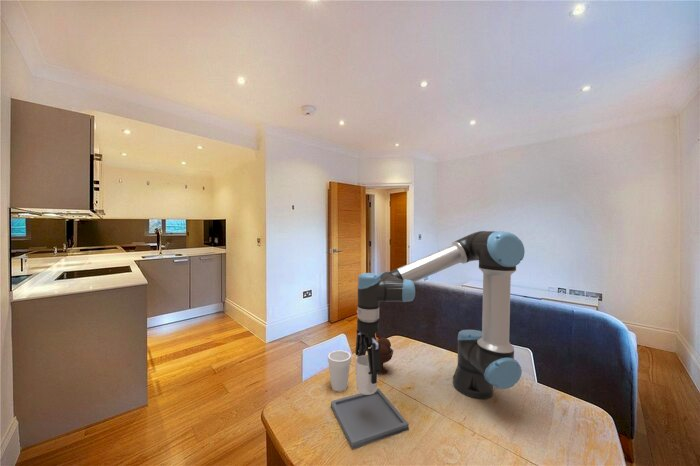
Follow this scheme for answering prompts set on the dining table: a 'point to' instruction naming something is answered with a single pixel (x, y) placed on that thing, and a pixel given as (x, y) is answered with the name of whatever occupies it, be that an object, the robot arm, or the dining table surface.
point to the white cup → (363, 374)
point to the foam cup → (339, 369)
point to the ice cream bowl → (385, 353)
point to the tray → (368, 418)
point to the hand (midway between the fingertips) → (366, 384)
